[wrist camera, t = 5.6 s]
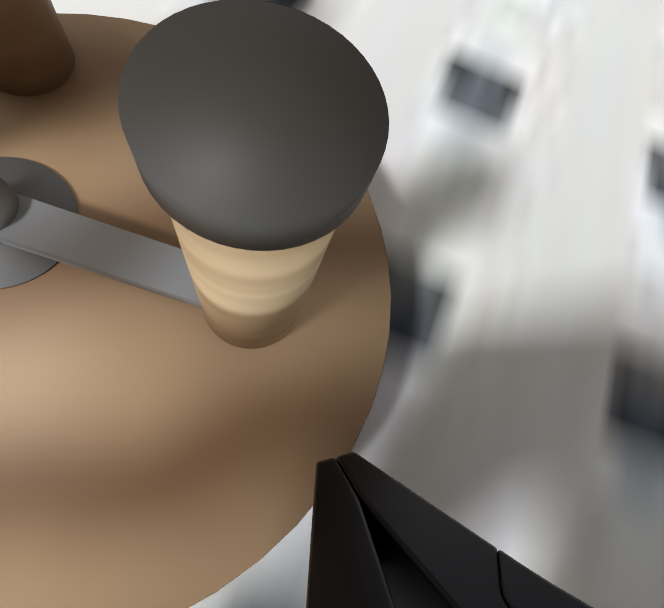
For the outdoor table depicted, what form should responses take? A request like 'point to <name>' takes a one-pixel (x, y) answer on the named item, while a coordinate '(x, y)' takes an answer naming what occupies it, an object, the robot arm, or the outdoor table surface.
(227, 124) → the hinged leg
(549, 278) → the outdoor table surface
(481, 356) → the outdoor table surface
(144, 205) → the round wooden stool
